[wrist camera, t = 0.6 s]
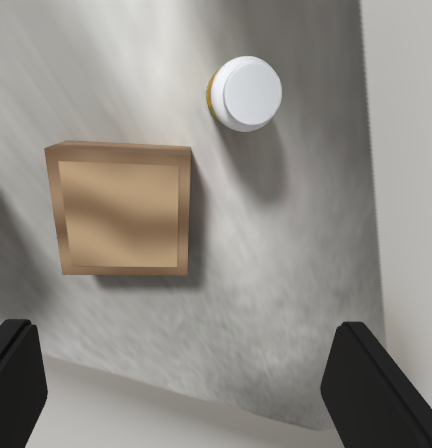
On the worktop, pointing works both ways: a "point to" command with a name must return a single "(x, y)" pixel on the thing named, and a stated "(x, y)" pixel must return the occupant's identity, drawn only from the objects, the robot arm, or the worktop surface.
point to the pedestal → (120, 207)
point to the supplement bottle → (244, 93)
